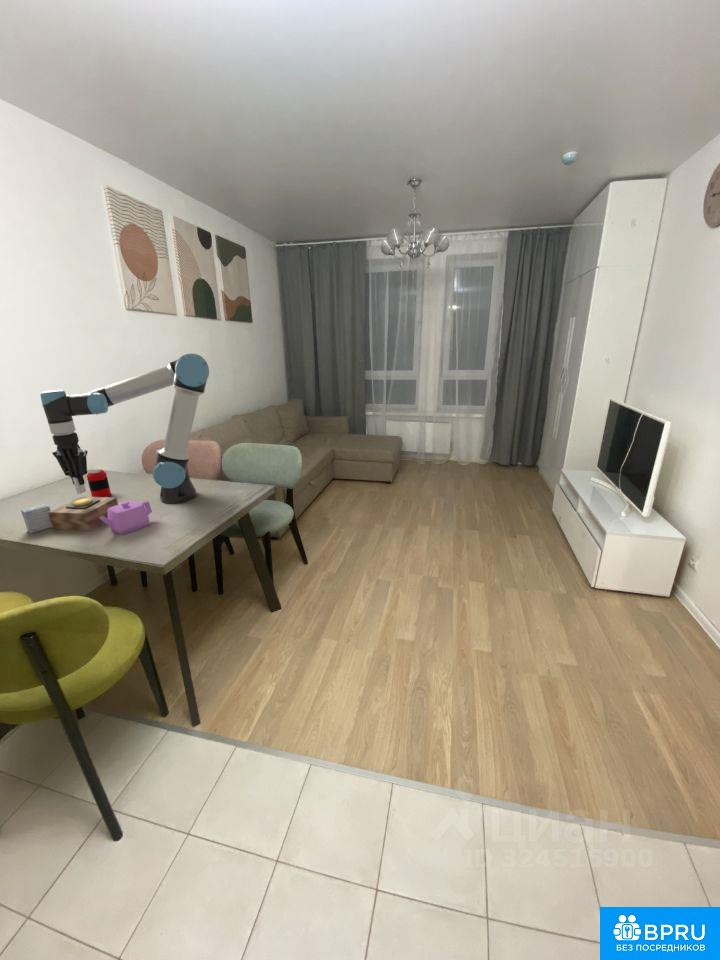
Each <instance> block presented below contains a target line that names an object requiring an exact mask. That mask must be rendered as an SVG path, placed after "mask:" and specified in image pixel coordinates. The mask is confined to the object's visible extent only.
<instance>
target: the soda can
mask: <svg viewBox="0 0 720 960" xmlns="http://www.w3.org/2000/svg"><path fill="white" fill-rule="evenodd" d="M86 478H87V479H86V480H87V483H88V486H89V491H90V495H91V497H110V496H111V495H112V492H111V488H110V484H109V480H108V475H107V472H106V471H105V470H103V469H93V470H90V471H87V474H86Z"/></svg>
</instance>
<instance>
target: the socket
mask: <svg viewBox="0 0 720 960" xmlns="http://www.w3.org/2000/svg"><path fill="white" fill-rule="evenodd" d="M87 498H89V499H92V503H90V504H87V505H85V506H74V502H75V501H77V500H80V499H87ZM117 499H118V498H117V497H110V496H108V497H92V496H78V497H77V498H75V499H73V500H71V501H69V502H66V503H64V504H63V505H61V506H58V507H56V508H54V509H52V510H50V512H48V514H49V517H50V520H51V524H52V527H51V528H52V530H66V531H67V530H68V531H70V530H71V531H92V530H94V529H96V528H98V527H99V526H101V525H103V524H106V523H105V522H103V521H102V520H101V519H99V517H101V516H104V517H106V518H107V519H108V508H110V507H113V506H116V505H119V503H118V500H117Z"/></svg>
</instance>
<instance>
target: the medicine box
mask: <svg viewBox="0 0 720 960" xmlns="http://www.w3.org/2000/svg"><path fill="white" fill-rule="evenodd" d="M50 511H51V508H50V506H49V505H48V504H46V503H43V504H38V505H34V506H32V507H28V508H24V509H21V515H22V518H23V521H24V523H25V526H26V529H27V531H28V532H29V533H30V534H33V533H38V532H40V531H44V530H46V529H49V528H53V527H52V524H51V520H50V517H49V514H48V512H50Z"/></svg>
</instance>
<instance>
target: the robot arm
mask: <svg viewBox="0 0 720 960" xmlns="http://www.w3.org/2000/svg"><path fill="white" fill-rule="evenodd" d="M209 376H210V368H209V365H208V362H207V360H206V359H205V358H204V357H203V356H202V355H199V354H197V353H187V354H184V355H183V354H182V355H181V356H180V357H179V358H178V359H176V360H173V361H171V362H169V363H168V364H167V366H163V367H161V368H157V369H154V370H152V371H149V372H146V373H142V374H139V375H136V376H134V377H130V378H127V379H124V380H121V381H117V382H114V383H111V384H109V385H107V386H102V387H100V388H96V389H92V390H90V391H88V392H86V393H82V394H81V393H80V394H67V392H66V391H65V390H64V389H57V390H56V389H52V390H45V391H42V392H40V394H39V395H40V400H41V404H42V405H41V406H42V409H43V411H44V415H45V416H46V417H45V418H46V420H47V423H48V427H49V431H50V434H52V441H53V444H54V445H55V446H56V450H55V451H53V452H52V455H53V457H54V458H55V459H56V460H57V463H58V464H59V466H60V468H61V470H62V472H63V474H64V476H66V477H68V476H69V478H71V481H72V484H73V486H74V488H75V491H76V494H78V495H81V494H83V493H86V491H87V489H86V486H85V484H86V483H85V478H84V475H87V474H88V465H87V464H88V463H87V462H88V460H87V455H88V450H84V449H82V448H81V446H80V445H79V441H80V439H79V435H78V434H77V433H78V432H76V426H75V423H74V419H73V417H76V416H78V417H79V416H89V415H97V416H98V415H101V414H106V413H107V412H108V411H109V407H112V406H114V405H118V404H120V403H123V402H126V401H129V400H132V399H135V398H138V397H141V396H144V395H147V394H149V393H153V392H155V391H159V390H162V389H164V388H168V387H169V388H170V386H171V387H172V386H173V388H174V389H175V392H174V397H173V401H172V407H171V411H170V415H169V419H168V424H167V429H166V435H165V439H164V442H163V443H164V444H163V447H162V448H159V449H157V450H156V451H155V457H156V461H155V465H154V468H153V470H152V477H153V478H152V479H153V480H154V482H155V483H156V484H157V485H159V486H160V487H161V488H160V493H159V497H160V502H162V503H164V504H180V503H184V502H187V501H191V500H193V499H195V498H196V497H197V496H198V495H197V490H196V488H195V486H194V484H193V482H192V480H191V477H190V472H189V466H188V464H189V460H190V456H189V455H188V453H187V450H188V446H189V442H190V437H191V433H192V428H193V426H194V425H193V424H194V420H195V415H196V412H197V407H198V402H199V397H200V396H202V395H204V394H205V390H206V386H207V382H208V379H209Z"/></svg>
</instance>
